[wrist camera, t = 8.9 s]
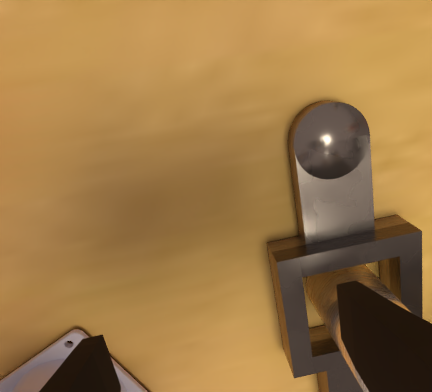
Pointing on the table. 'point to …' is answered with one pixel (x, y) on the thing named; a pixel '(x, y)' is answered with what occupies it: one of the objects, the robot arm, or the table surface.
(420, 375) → the robot arm
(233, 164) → the table surface
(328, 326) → the steel pin
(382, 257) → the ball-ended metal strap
